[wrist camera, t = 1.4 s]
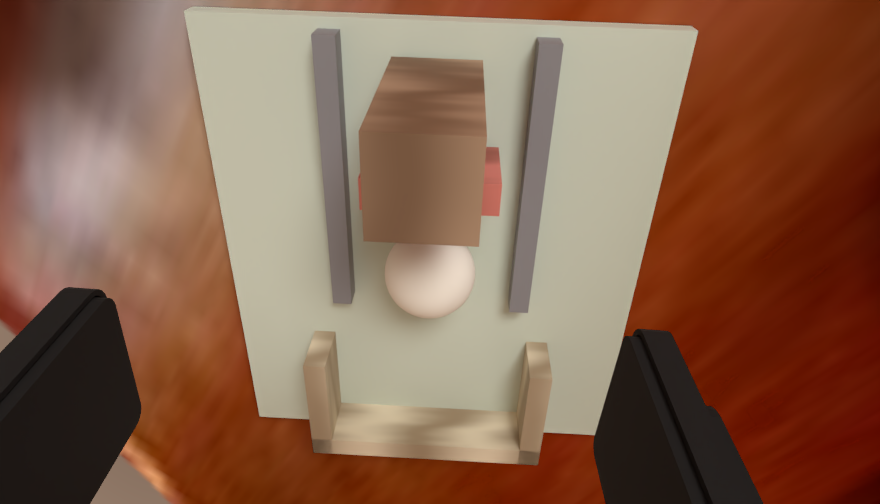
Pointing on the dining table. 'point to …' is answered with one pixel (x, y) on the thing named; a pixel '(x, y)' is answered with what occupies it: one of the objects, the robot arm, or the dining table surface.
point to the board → (501, 237)
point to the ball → (429, 278)
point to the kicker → (428, 155)
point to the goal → (425, 417)
